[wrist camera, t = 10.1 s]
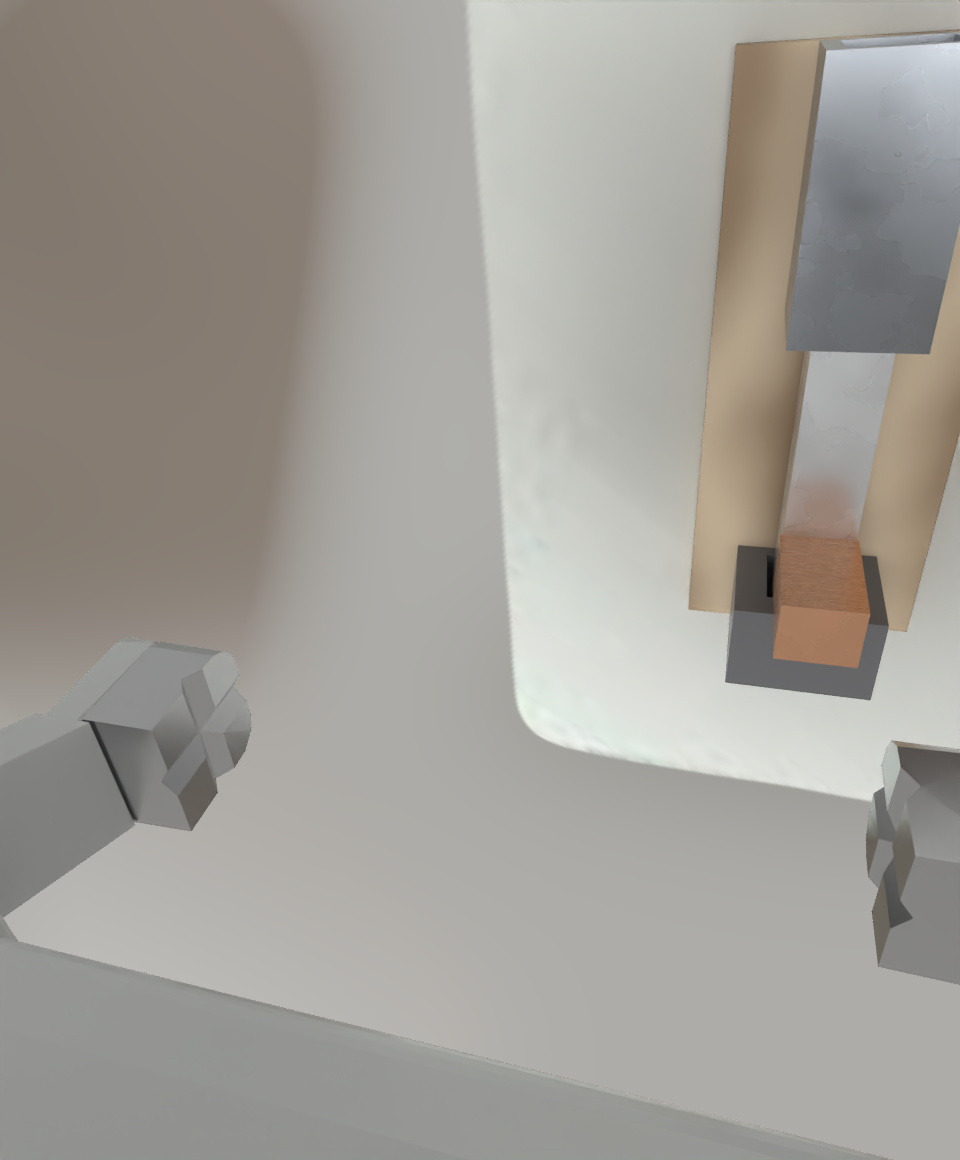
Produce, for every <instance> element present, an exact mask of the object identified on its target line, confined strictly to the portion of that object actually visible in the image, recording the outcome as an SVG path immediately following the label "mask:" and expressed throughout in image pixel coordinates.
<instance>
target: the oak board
mask: <svg viewBox="0 0 960 1160" xmlns="http://www.w3.org/2000/svg"><path fill="white" fill-rule="evenodd" d="M945 32H960V30H945V31H929V32H913V33H897V34H881V35H865V36H849V37H834V38H818V39H802V40H786V41H770V42H754V43H738V44H736V51H735V63H734V75H733V87H732V99H731V110H730V122H729V134H728V146H727V158H726V170H725V182H724V193H723V205H722V217H721V229H720V241H719V253H718V265H717V277H716V288H715V300H714V312H713V324H712V336H711V348H710V360H709V371H708V383H707V395H706V407H705V419H704V431H703V443H702V454H701V466H700V478H699V490H698V502H697V514H696V526H695V538H694V549H693V561H692V573H691V585H690V597H689V609H690V610H700V611H709V612H719V613H729V614H730V609H731V600H732V592H733V583H734V575H735V566H736V558H737V550H738V545H743V546H755V547H767V548H776V541H777V535H778V528H779V521H780V514H781V508H782V501H783V494H784V487H785V481H786V474H787V467H788V460H789V454H790V447H791V440H792V433H793V427H794V420H795V413H796V406H797V399H798V393H799V386H800V379H801V372H802V366H803V359H804V352H805V351H786V337H785V303H786V295H787V288H788V280H789V272H790V265H791V257H792V249H793V242H794V234H795V226H796V219H797V211H798V204H799V196H800V188H801V181H802V173H803V165H804V158H805V150H806V142H807V135H808V127H809V119H810V112H811V104H812V96H813V89H814V81H815V74H816V66H817V58H818V51H819V43H820V40H833V39H849V38H865V37H881V36H897V35H913V34H929V33H945ZM959 433H960V226H959V230H958V235H957V239H956V243H955V247H954V252H953V256H952V260H951V265H950V269H949V273H948V278H947V282H946V286H945V290H944V295H943V299H942V303H941V308H940V312H939V316H938V321H937V325H936V329H935V333H934V338H933V342H932V346H931V351H930V354H895V359H894V364H893V369H892V374H891V378H890V383H889V388H888V393H887V397H886V402H885V407H884V412H883V416H882V421H881V426H880V431H879V436H878V440H877V445H876V450H875V455H874V459H873V464H872V469H871V474H870V478H869V483H868V488H867V493H866V498H865V502H864V507H863V512H862V517H861V521H860V526H859V531H858V536H857V540H858V541H859V543H860V549H861V555H864V556H876V557H877V561H878V567H879V572H880V578H881V584H882V589H883V595H884V601H885V606H886V612H887V618H888V623H889V628H888V630H893V631H903V632H907V628H908V624H909V620H910V617H911V613H912V609H913V605H914V602H915V598H916V594H917V590H918V587H919V583H920V579H921V576H922V572H923V568H924V564H925V561H926V557H927V553H928V549H929V546H930V542H931V538H932V534H933V531H934V527H935V523H936V519H937V516H938V512H939V508H940V504H941V501H942V497H943V493H944V489H945V486H946V482H947V478H948V474H949V471H950V467H951V463H952V459H953V456H954V452H955V448H956V444H957V441H958V437H959Z"/></svg>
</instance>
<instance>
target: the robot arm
mask: <svg viewBox="0 0 960 1160" xmlns="http://www.w3.org/2000/svg"><path fill="white" fill-rule="evenodd" d="M238 677H239V672H238V670H237V667H236V664H235V661H234V658H233V656H232V655H229V654H227V653H225V652H222V651H215V650H210V649H204V648H197V647H191V646H184V645H179V644H172V643H166V642H154V641H148V640H143V639H136V638H131V637H130V638H127V639H124V640H121V641H118V642H117V643H116V644H115V645H114V646H113V647H112V648H111V649H110V650H109V651H108V652H107V653H106V654H105V655H104V656H103V657H102V658H101V659H100V660H99V661H98V662H97V664H95V665H94V666H93V667H92V668H91V669H90V670H89V672H87V673H86V675H85V676H84V677H83V678H82V679H81V680H80V681H79V682H78V683H77V684H76V685H75V686H74V687H73V688H72V689H71V690H70V691H69V692H68V693H67V694H66V695H65V696H64V697H63V698H62V699H61V700H60V701H59V702H58V703H57V704H56V705H55V706H54V707H53V708H52V709H51V710H50V711H49V712H48V713H47V714H46V715H42V714H34V715H32V716H30V717H27V718H25V719H23V720H21V721H18V722H17V723H14V724H12V725H10V726H8V727H6V728H3V729H1V730H0V1160H892V1159H888V1158H884V1157H880V1156H876V1155H872V1154H868V1153H864V1152H860V1151H856V1150H852V1149H848V1148H844V1147H840V1146H836V1145H832V1144H828V1143H824V1142H820V1141H816V1140H812V1139H808V1138H804V1137H800V1136H796V1135H792V1134H788V1133H784V1132H780V1131H776V1130H772V1129H768V1128H764V1127H760V1126H756V1125H752V1124H748V1123H744V1122H740V1121H736V1120H732V1119H728V1118H724V1117H720V1116H716V1115H712V1114H708V1113H704V1112H700V1111H696V1110H692V1109H688V1108H684V1107H680V1106H676V1105H672V1104H668V1103H664V1102H660V1101H656V1100H652V1099H648V1098H644V1097H640V1096H636V1095H632V1094H627V1093H624V1092H620V1091H616V1090H612V1089H607V1088H604V1087H600V1086H596V1085H592V1084H588V1083H584V1082H580V1081H576V1080H572V1079H568V1078H564V1077H560V1076H556V1075H552V1074H548V1073H544V1072H540V1071H536V1070H532V1069H528V1068H524V1067H520V1066H516V1065H511V1064H508V1063H504V1062H500V1061H496V1060H492V1059H488V1058H483V1057H480V1056H475V1055H472V1054H468V1053H464V1052H460V1051H456V1050H452V1049H447V1048H444V1047H440V1046H436V1045H432V1044H428V1043H424V1042H420V1041H416V1040H412V1039H408V1038H404V1037H399V1036H395V1035H391V1034H387V1033H383V1032H379V1031H375V1030H371V1029H367V1028H363V1027H359V1026H355V1025H351V1024H347V1023H343V1022H339V1021H335V1020H331V1019H327V1018H323V1017H319V1016H315V1015H311V1014H307V1013H303V1012H298V1011H294V1010H291V1009H287V1008H283V1007H279V1006H275V1005H271V1004H266V1003H263V1002H259V1001H255V1000H251V999H246V998H242V997H238V996H234V995H230V994H226V993H222V992H218V991H214V990H210V989H206V988H202V987H198V986H194V985H190V984H186V983H182V982H178V981H174V980H170V979H166V978H162V977H158V976H154V975H150V974H146V973H142V972H138V971H134V970H130V969H126V968H122V967H118V966H114V965H110V964H106V963H102V962H98V961H94V960H90V959H86V958H82V957H78V956H74V955H70V954H66V953H62V952H58V951H54V950H50V949H46V948H42V947H38V946H34V945H30V944H26V943H22V942H18V940H17V939H16V937H15V936H14V934H13V932H12V931H11V929H10V928H9V926H8V925H7V923H6V922H5V920H4V918H3V917H5V916H6V915H7V914H9V913H10V912H12V911H13V910H14V909H16V908H17V907H19V906H20V905H22V904H23V903H25V902H26V901H27V900H29V899H30V898H32V897H33V896H35V895H36V894H37V893H39V892H40V891H42V890H43V889H45V888H46V887H47V886H49V885H50V884H52V883H53V882H54V881H56V880H57V879H59V878H60V877H62V876H63V875H65V874H66V873H67V872H69V871H70V870H72V869H73V868H74V867H76V866H77V865H78V864H80V863H82V862H83V861H85V860H86V859H87V858H89V857H90V856H92V855H93V854H94V853H96V852H97V851H99V850H100V849H102V848H103V847H105V846H106V845H107V844H109V843H110V842H112V841H113V840H115V839H116V838H118V837H119V836H120V835H122V834H123V833H125V832H126V831H128V830H129V829H130V828H132V827H133V826H134V825H135V823H134V822H139V823H144V824H150V825H156V826H162V827H168V828H175V829H181V830H187V831H192V830H193V828H194V826H195V825H196V824H197V822H198V821H199V819H200V818H201V817H202V815H203V814H204V812H205V811H206V809H207V808H208V806H209V805H210V803H211V802H212V800H213V799H214V797H215V796H216V794H217V793H218V792H217V783H216V778H217V777H219V776H221V775H222V774H224V773H226V772H228V771H229V770H231V769H233V768H235V766H236V764H237V763H238V761H239V760H240V758H241V757H242V755H243V753H244V752H245V749H246V746H247V743H248V739H249V736H250V732H251V713H250V709H249V706H248V702H247V700H246V699H245V698H244V697H243V696H242V695H241V694H240V693H239V692H238V691H237V689H235V687H233V685H234V683H235V682H236V680H237V678H238ZM881 766H882V774H883V782H884V787H883V788H882V789H880V790H878V791H877V792H875V793H874V794H873V798H872V802H871V807H870V811H869V816H868V825H867V834H866V859H867V870H868V877H869V878H870V879H871V881H872V882H873V883H874V884H875V885H876V886H877V887H878V893H877V896H876V899H875V903H874V906H873V910H872V916H873V917H872V918H873V926H874V935H875V943H876V952H877V960H878V967H882V968H887V969H891V970H896V971H900V972H905V973H909V974H914V975H918V976H923V977H928V978H932V979H937V980H941V981H945V982H950V983H954V984H959V985H960V749H955V748H947V747H939V746H931V745H923V744H915V743H907V742H899V741H891V742H890V744H889V745H888V747H887V749H886V752H885V755H884V758H883V762H882V765H881Z"/></svg>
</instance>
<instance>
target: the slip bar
mask: <svg viewBox="0 0 960 1160" xmlns="http://www.w3.org/2000/svg"><path fill="white" fill-rule="evenodd" d="M894 359H895V353H857V352H819V351H805V352H804V359H803V366H802V372H801V379H800V386H799V393H798V399H797V406H796V413H795V420H794V427H793V433H792V440H791V447H790V454H789V460H788V467H787V474H786V481H785V487H784V494H783V501H782V508H781V514H780V521H779V528H778V535H777V541H776V548H775V555H774V562H773V568H772V575H771V582H770V589H769V596H768V597H771V598H773V659H782V660H791V661H800V662H808V663H817V664H826V665H834V666H843V667H852V668H858V665H859V660H860V656H861V652H862V648H863V643H864V639H865V635H866V630H867V626H868V622H869V618H870V609H869V602H868V596H867V589H866V582H865V576H864V569H863V562H862V556H861V549H860V543H859V541H858V540H857V536H858V531H859V526H860V521H861V517H862V512H863V507H864V502H865V498H866V493H867V488H868V483H869V478H870V474H871V469H872V464H873V459H874V455H875V450H876V445H877V440H878V436H879V431H880V426H881V421H882V416H883V412H884V407H885V402H886V397H887V393H888V388H889V383H890V378H891V374H892V369H893V364H894Z"/></svg>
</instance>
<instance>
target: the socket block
mask: <svg viewBox="0 0 960 1160" xmlns="http://www.w3.org/2000/svg"><path fill="white" fill-rule="evenodd" d="M774 555H775V548H767V547H755V546H743V545H738V550H737V558H736V566H735V575H734V583H733V592H732V600H731V609H730V620H729V635H728V650H727V664H726V679H725V682H727V683H735V684H743V685H751V686H759V687H767V688H775V689H783V690H792V691H800V692H808V693H816V694H824V695H832V696H840V697H848V698H856V699H864V700H871V696H872V692H873V688H874V684H875V680H876V676H877V672H878V668H879V664H880V660H881V656H882V652H883V648H884V644H885V640H886V636H887V632H888V628H889V623H888V618H887V612H886V606H885V601H884V595H883V589H882V584H881V578H880V572H879V567H878V561H877V557H876V556H864V555H861V556H862V562H863V569H864V576H865V582H866V589H867V596H868V602H869V609H870V618H869V622H868V626H867V630H866V635H865V639H864V643H863V648H862V652H861V656H860V660H859V665H858V668H852V667H843V666H834V665H826V664H817V663H808V662H800V661H791V660H782V659H773V598H771V597H768V596H769V589H770V582H771V575H772V568H773V562H774Z"/></svg>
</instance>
